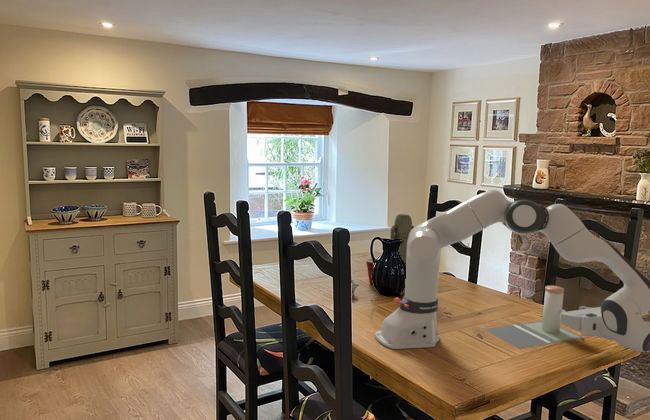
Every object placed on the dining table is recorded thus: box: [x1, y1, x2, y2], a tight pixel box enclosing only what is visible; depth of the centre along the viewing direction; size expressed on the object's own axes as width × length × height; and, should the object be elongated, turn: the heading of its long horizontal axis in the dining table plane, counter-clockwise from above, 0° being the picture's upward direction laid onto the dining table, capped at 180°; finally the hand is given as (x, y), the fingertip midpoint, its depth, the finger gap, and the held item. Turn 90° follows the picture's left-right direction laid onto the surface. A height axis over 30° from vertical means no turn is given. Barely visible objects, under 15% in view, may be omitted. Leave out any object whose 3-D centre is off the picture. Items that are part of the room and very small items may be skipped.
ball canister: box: [541, 285, 565, 334], centre depth 185 cm, size 6×6×16 cm
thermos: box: [389, 213, 415, 296], centre depth 229 cm, size 9×12×35 cm
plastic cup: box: [365, 257, 373, 286], centre depth 241 cm, size 11×11×12 cm
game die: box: [350, 276, 360, 296], centre depth 223 cm, size 9×8×10 cm
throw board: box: [483, 320, 585, 350], centre depth 183 cm, size 29×18×1 cm, turn 112°
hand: (570, 309), depth 178 cm, fingers open, 8 cm apart
